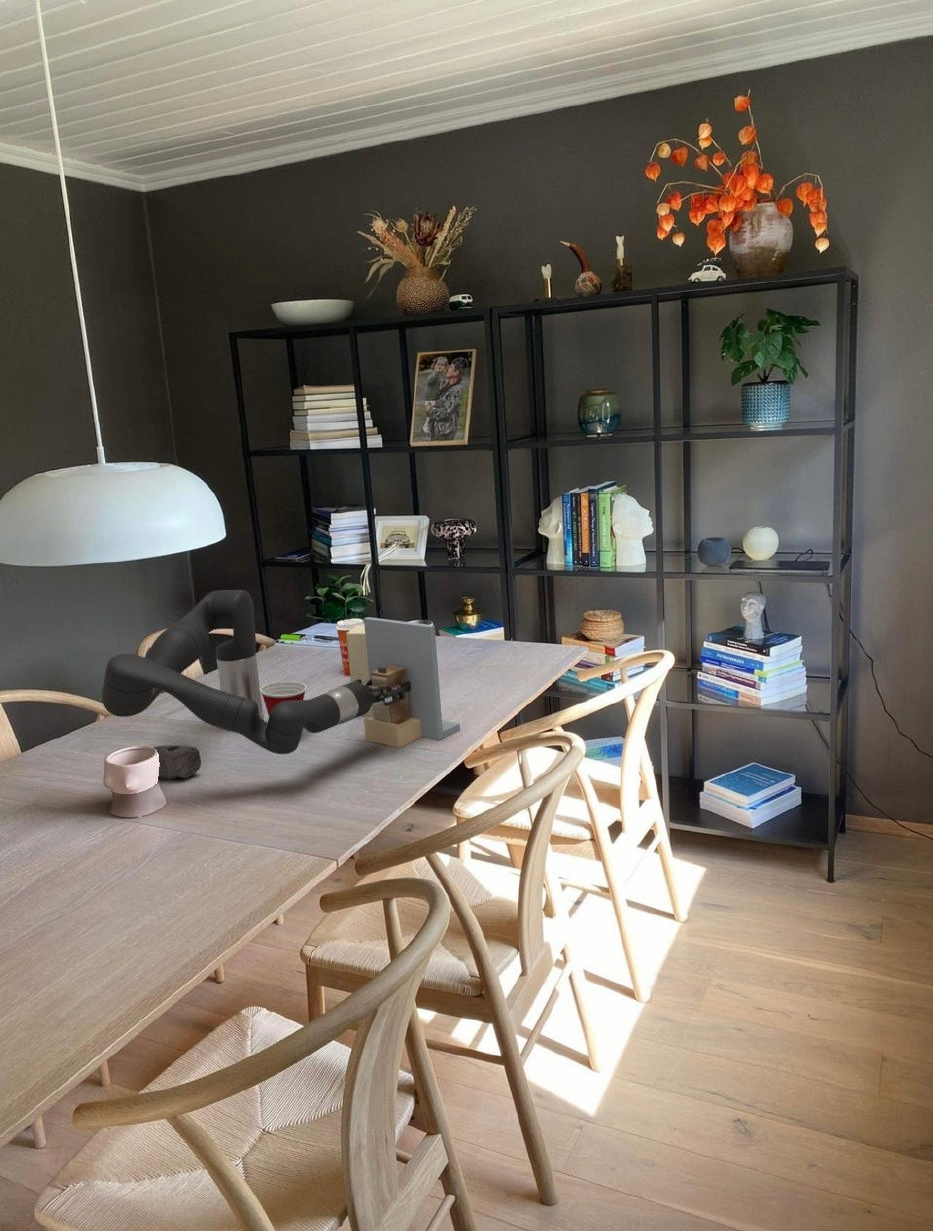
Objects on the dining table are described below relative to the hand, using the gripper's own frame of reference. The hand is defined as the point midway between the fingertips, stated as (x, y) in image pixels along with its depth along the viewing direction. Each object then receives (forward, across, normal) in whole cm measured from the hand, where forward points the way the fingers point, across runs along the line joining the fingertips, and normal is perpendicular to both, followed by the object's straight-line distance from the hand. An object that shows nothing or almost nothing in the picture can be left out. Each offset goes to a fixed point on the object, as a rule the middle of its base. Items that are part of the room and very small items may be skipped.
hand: (395, 682), depth 210 cm
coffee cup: (+31, -46, -13) cm, 57 cm away
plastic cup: (-13, -24, -13) cm, 30 cm away
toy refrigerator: (+9, -18, -13) cm, 24 cm away
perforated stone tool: (-42, -28, -13) cm, 53 cm away
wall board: (+3, 0, -12) cm, 13 cm away
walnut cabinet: (-2, 0, -8) cm, 9 cm away
